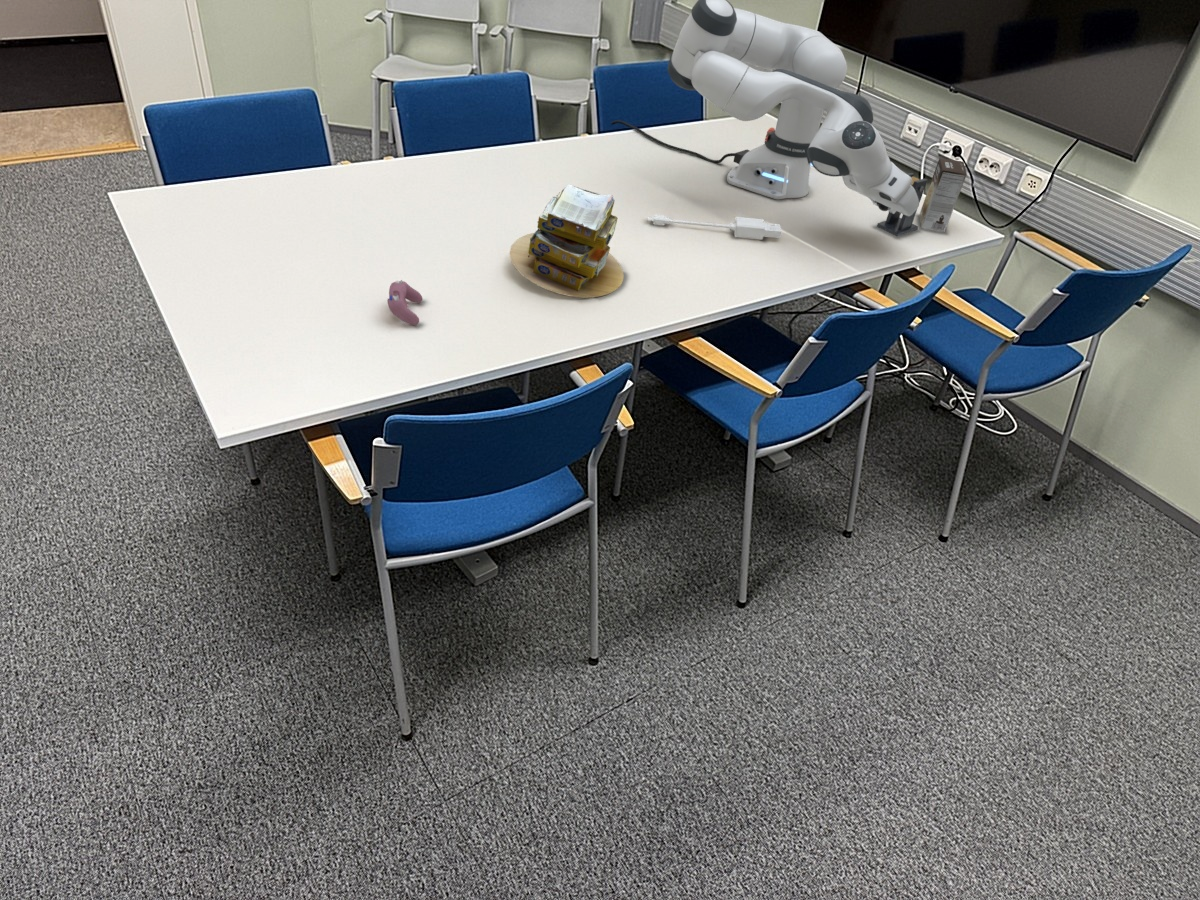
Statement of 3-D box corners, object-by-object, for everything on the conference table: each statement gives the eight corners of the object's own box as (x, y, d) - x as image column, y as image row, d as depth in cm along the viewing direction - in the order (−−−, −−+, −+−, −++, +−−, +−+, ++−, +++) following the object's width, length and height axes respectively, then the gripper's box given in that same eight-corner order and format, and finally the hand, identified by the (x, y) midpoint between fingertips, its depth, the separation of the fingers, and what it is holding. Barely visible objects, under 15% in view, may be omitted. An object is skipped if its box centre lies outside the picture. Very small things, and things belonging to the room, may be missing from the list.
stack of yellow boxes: (642, 268, 194) (653, 196, 184) (587, 312, 177) (595, 235, 166) (548, 235, 202) (554, 164, 192) (486, 274, 185) (488, 198, 174)
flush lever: (885, 215, 216) (886, 204, 213) (874, 210, 218) (875, 199, 215) (920, 190, 220) (922, 178, 217) (909, 185, 222) (910, 173, 219)
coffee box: (917, 215, 235) (938, 156, 225) (941, 219, 235) (963, 161, 225) (920, 229, 228) (942, 169, 218) (945, 233, 228) (968, 174, 218)
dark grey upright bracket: (896, 237, 222) (914, 185, 214) (876, 227, 226) (892, 175, 217) (917, 230, 227) (935, 179, 219) (896, 220, 231) (914, 169, 222)
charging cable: (647, 221, 216) (648, 208, 214) (777, 233, 216) (780, 220, 214) (646, 229, 212) (647, 216, 210) (779, 242, 212) (782, 229, 210)
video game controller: (404, 306, 174) (386, 277, 170) (424, 298, 173) (407, 269, 169) (399, 333, 166) (380, 303, 162) (420, 324, 166) (402, 294, 161)
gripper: (831, 169, 212) (845, 201, 223) (899, 202, 200) (911, 233, 212) (847, 148, 211) (861, 181, 223) (917, 180, 200) (928, 212, 211)
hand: (885, 207), depth 217 cm, fingers closed on flush lever, 3 cm apart
